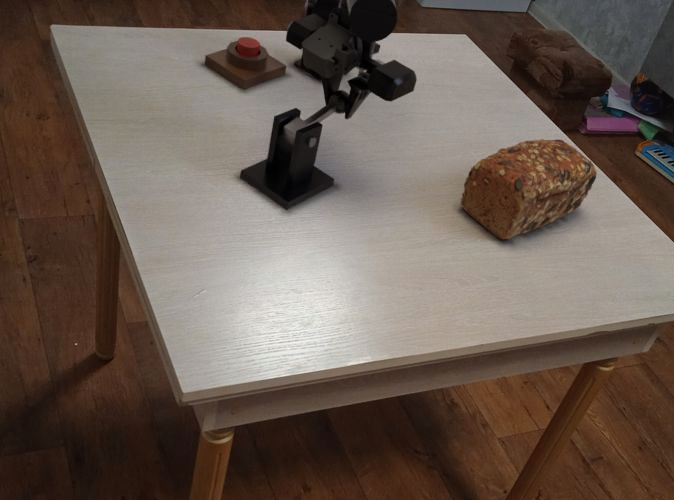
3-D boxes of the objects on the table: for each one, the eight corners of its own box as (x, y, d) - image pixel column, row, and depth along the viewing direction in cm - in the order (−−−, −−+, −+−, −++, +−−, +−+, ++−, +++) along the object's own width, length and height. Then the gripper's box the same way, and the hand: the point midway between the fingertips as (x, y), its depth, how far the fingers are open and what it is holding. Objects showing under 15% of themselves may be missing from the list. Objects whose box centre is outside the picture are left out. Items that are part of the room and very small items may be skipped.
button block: (246, 51, 142) (249, 31, 140) (285, 74, 139) (288, 55, 137) (204, 64, 136) (206, 44, 133) (243, 89, 133) (246, 69, 130)
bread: (504, 246, 117) (529, 188, 110) (452, 205, 121) (473, 146, 115) (582, 214, 127) (609, 158, 120) (531, 176, 132) (555, 121, 125)
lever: (338, 100, 118) (339, 82, 116) (355, 111, 117) (357, 92, 114) (280, 140, 113) (280, 122, 110) (297, 152, 112) (298, 133, 109)
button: (247, 45, 137) (248, 35, 136) (263, 54, 136) (264, 44, 134) (231, 49, 135) (233, 39, 133) (247, 59, 133) (249, 49, 132)
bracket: (287, 155, 122) (298, 95, 115) (333, 185, 119) (347, 125, 112) (239, 177, 115) (248, 114, 109) (286, 209, 112) (298, 147, 105)
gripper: (266, -14, 104) (251, 97, 115) (380, 52, 98) (352, 163, 109) (323, -30, 111) (303, 77, 122) (432, 31, 105) (402, 137, 116)
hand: (338, 112), depth 117 cm, fingers closed on lever, 3 cm apart
